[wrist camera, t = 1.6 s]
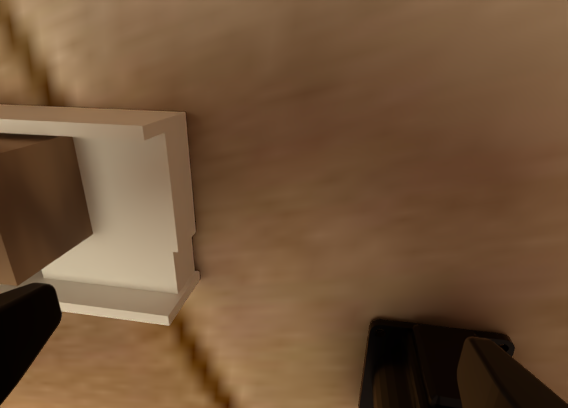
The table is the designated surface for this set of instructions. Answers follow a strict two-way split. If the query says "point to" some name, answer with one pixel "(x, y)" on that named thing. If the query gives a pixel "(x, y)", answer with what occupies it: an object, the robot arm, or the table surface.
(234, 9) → the table surface
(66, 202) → the walnut block
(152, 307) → the tray
